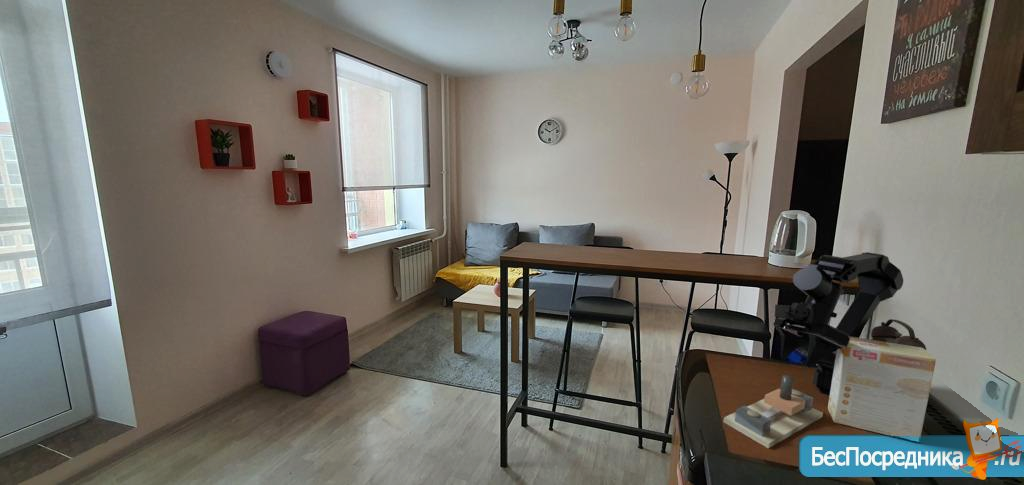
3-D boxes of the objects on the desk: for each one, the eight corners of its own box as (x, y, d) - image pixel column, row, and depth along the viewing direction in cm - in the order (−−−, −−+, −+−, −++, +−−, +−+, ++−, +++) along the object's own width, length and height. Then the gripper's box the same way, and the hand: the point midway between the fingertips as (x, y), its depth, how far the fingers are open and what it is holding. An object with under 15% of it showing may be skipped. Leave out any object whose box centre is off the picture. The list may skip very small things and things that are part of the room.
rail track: (777, 396, 103) (779, 380, 102) (822, 417, 94) (825, 399, 93) (723, 422, 92) (725, 404, 91) (768, 448, 83) (770, 429, 82)
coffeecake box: (907, 426, 91) (923, 346, 88) (920, 444, 85) (938, 359, 82) (826, 407, 98) (838, 333, 95) (833, 423, 92) (846, 344, 88)
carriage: (777, 395, 98) (781, 368, 97) (804, 408, 93) (809, 380, 92) (763, 402, 95) (767, 374, 94) (790, 415, 90) (795, 386, 89)
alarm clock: (926, 410, 97) (943, 334, 94) (892, 407, 99) (908, 331, 95) (884, 380, 111) (898, 313, 108) (855, 377, 113) (867, 311, 109)
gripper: (766, 288, 106) (743, 341, 106) (814, 291, 88) (786, 354, 87) (806, 306, 105) (783, 360, 104) (863, 313, 87) (836, 378, 86)
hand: (794, 362), depth 95 cm, fingers open, 9 cm apart
